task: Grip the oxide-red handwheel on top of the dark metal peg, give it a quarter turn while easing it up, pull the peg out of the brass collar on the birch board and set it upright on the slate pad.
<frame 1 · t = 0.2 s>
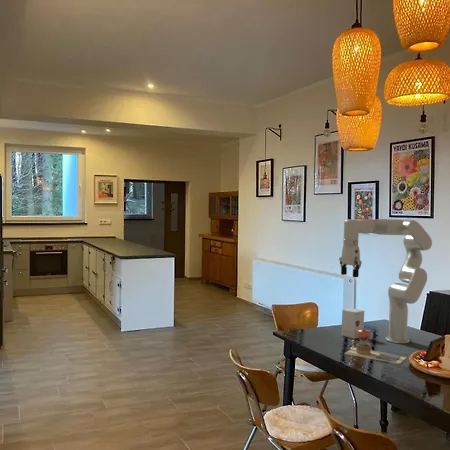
hand: (349, 275, 258), 37 cm above the table, tool pointing down, fingers open, 9 cm apart
peg: (363, 352, 242), point 1 cm above the table, touching board
board: (375, 358, 238), on the table
supplement box: (352, 336, 279), on the table
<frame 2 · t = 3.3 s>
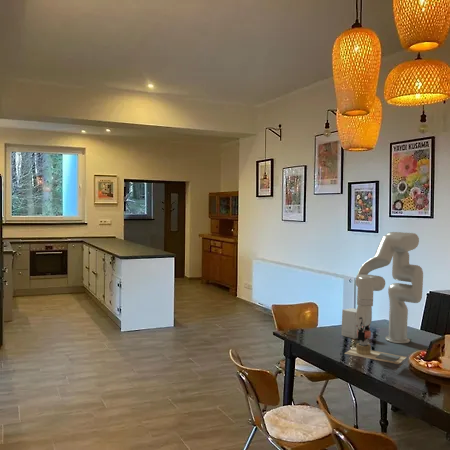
hand: (363, 338, 241), 9 cm above the table, tool pointing down, fingers closed on peg, 6 cm apart
peg: (363, 352, 242), point 1 cm above the table, touching board, gripper
everything else where it was.
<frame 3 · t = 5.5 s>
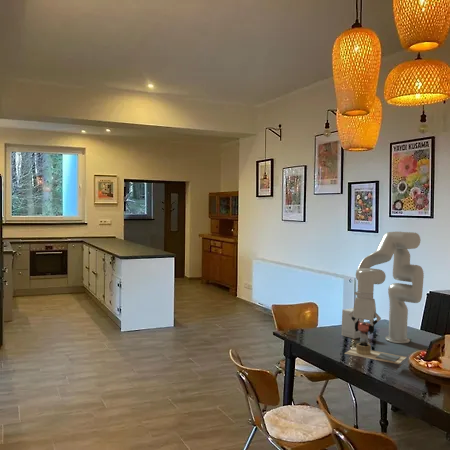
hand: (364, 331, 241), 12 cm above the table, tool pointing down, fingers closed on peg, 6 cm apart
peg: (363, 346, 242), point 5 cm above the table, touching gripper
everything else where it was.
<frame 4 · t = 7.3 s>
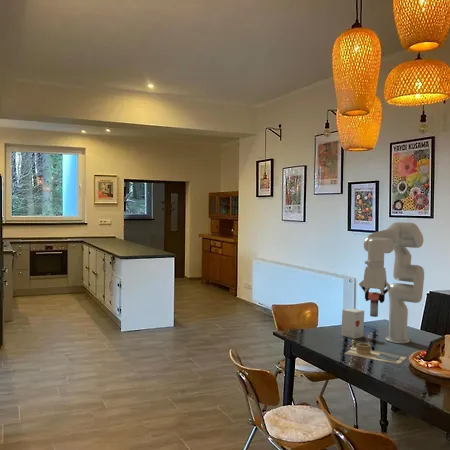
hand: (374, 301, 238), 28 cm above the table, tool pointing down, fingers closed on peg, 6 cm apart
peg: (373, 316, 238), point 20 cm above the table, touching gripper
everything else where it was.
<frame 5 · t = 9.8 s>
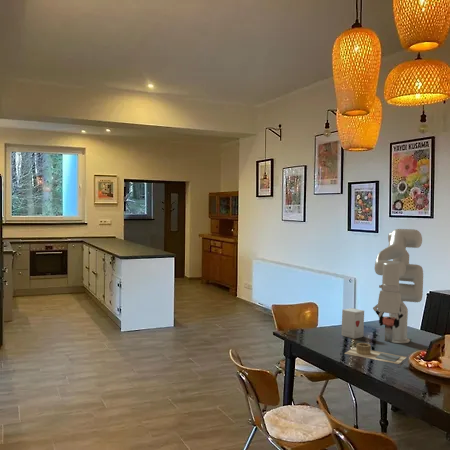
hand: (389, 326, 234), 17 cm above the table, tool pointing down, fingers closed on peg, 6 cm apart
peg: (388, 341, 234), point 10 cm above the table, touching gripper
everything else where it was.
when the fingers open (10 cm above the table, at t = 11.6 s): peg drops 1 cm, resting on board.
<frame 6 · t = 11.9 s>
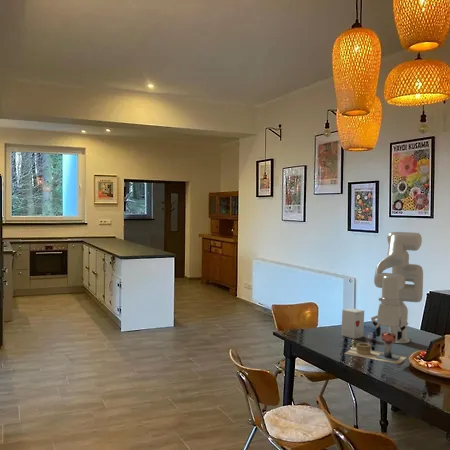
hand: (388, 337, 234), 11 cm above the table, tool pointing down, fingers open, 9 cm apart
peg: (387, 356, 235), point 2 cm above the table, touching board
everything else where it was.
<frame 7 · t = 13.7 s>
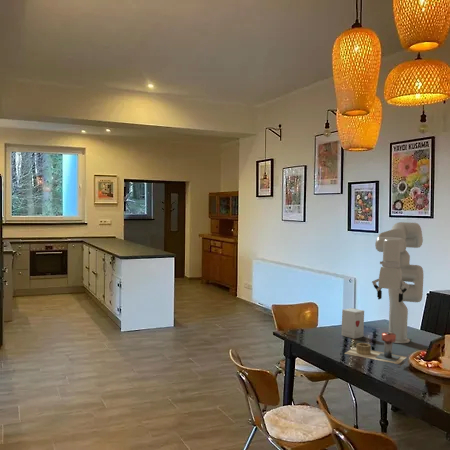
hand: (389, 300, 236), 29 cm above the table, tool pointing down, fingers open, 9 cm apart
nothing on the table moved.
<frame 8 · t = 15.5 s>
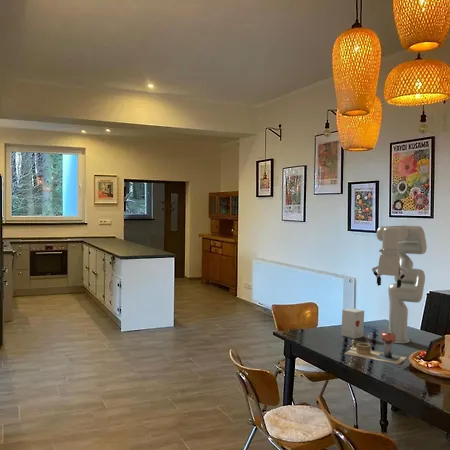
hand: (388, 286, 248), 33 cm above the table, tool pointing down, fingers open, 9 cm apart
nothing on the table moved.
at the end: peg 0.0 cm from the target spot on the board, point 1.8 cm above the board's base; peg tilted 1°; the gripper is holding nothing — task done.
